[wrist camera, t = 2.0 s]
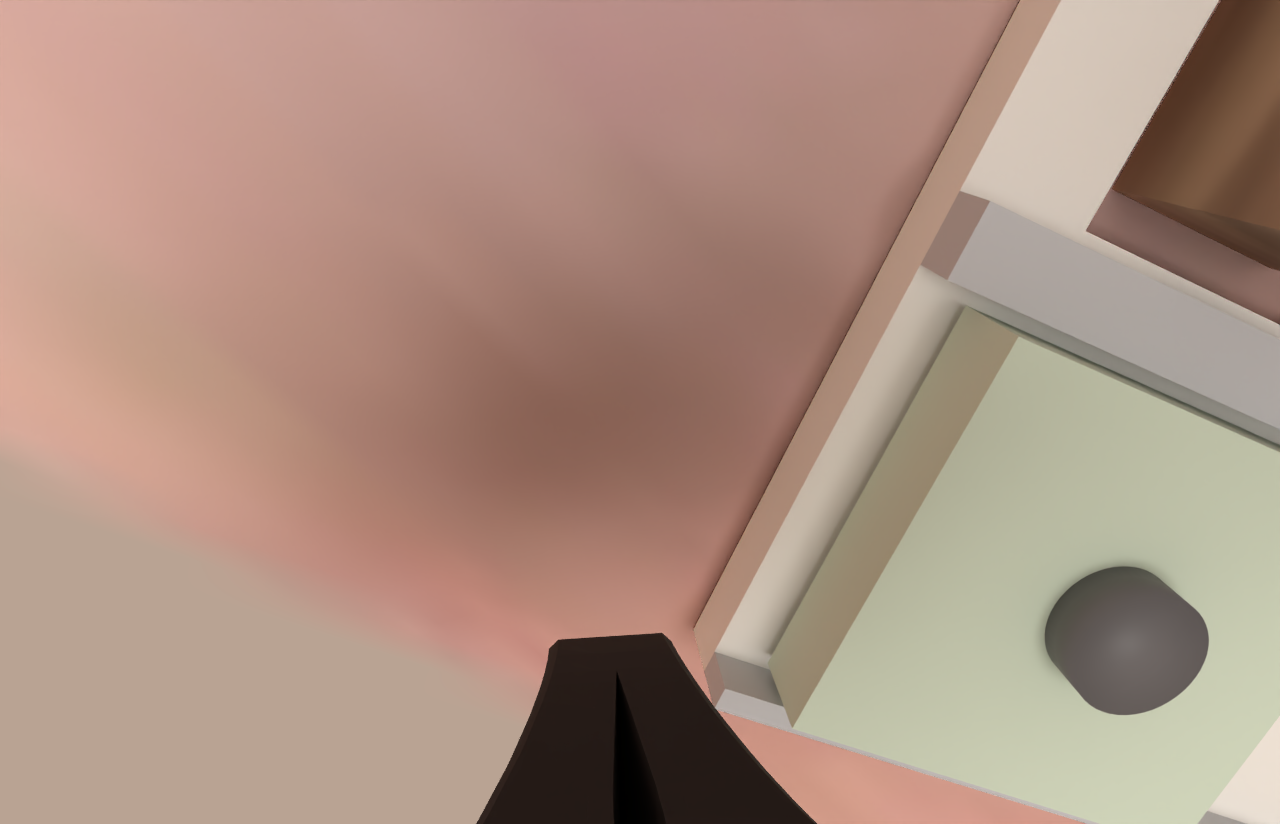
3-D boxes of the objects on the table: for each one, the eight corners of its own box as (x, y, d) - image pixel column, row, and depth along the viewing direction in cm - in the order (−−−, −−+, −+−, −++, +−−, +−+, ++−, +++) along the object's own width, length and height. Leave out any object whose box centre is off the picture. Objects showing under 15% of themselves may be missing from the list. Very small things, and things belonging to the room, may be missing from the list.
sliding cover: (1342, 472, 19) (1481, 546, 16) (1122, 778, 21) (1210, 888, 18) (966, 305, 17) (1050, 355, 14) (767, 662, 19) (806, 766, 16)
